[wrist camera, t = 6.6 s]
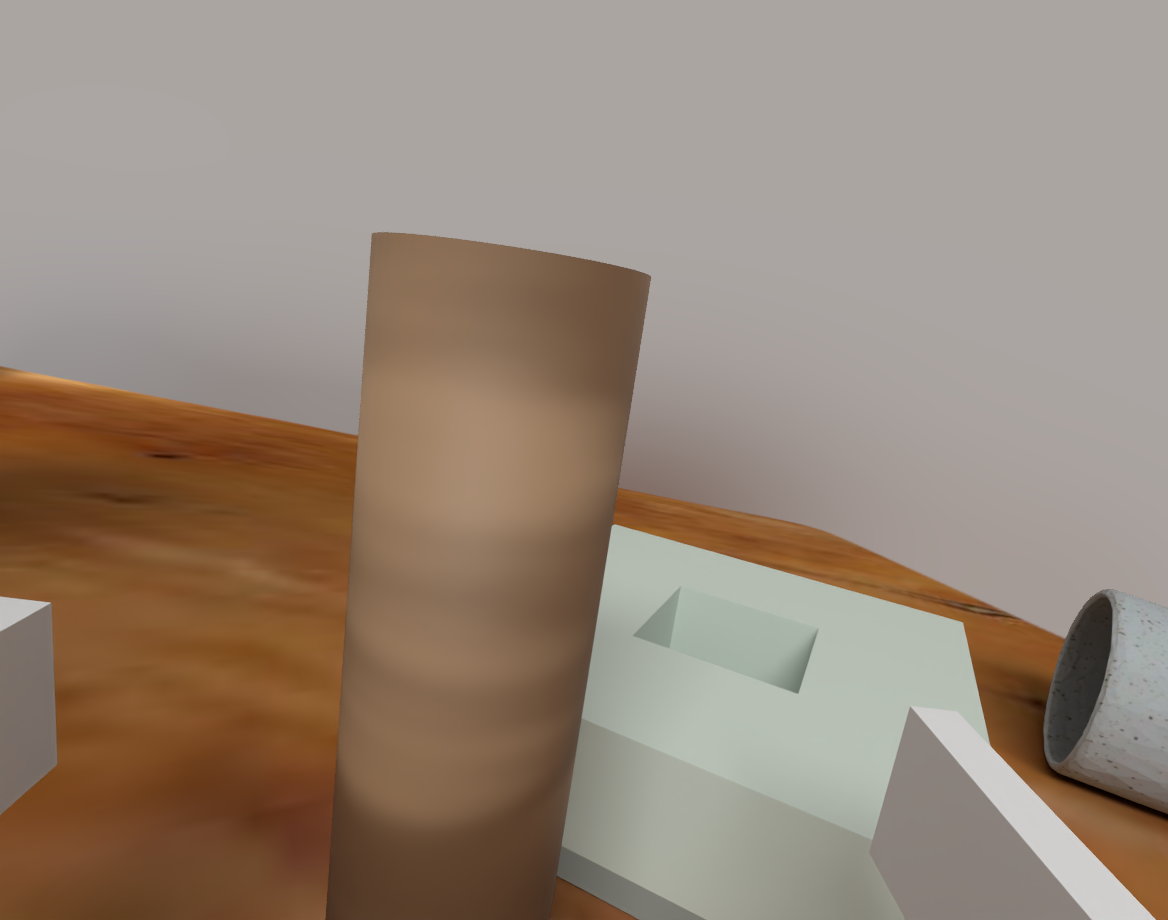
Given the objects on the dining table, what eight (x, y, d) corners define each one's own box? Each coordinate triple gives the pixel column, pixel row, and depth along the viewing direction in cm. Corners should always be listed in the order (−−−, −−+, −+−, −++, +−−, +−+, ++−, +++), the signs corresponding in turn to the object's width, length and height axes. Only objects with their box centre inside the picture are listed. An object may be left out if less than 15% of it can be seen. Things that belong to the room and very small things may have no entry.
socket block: (961, 1091, 15) (1025, 903, 13) (393, 788, 21) (406, 645, 20) (932, 727, 29) (962, 622, 28) (600, 613, 35) (614, 524, 34)
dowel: (438, 1288, 11) (577, 250, 7) (263, 1132, 12) (305, 222, 9) (555, 1053, 14) (686, 286, 11) (408, 957, 16) (479, 261, 12)
